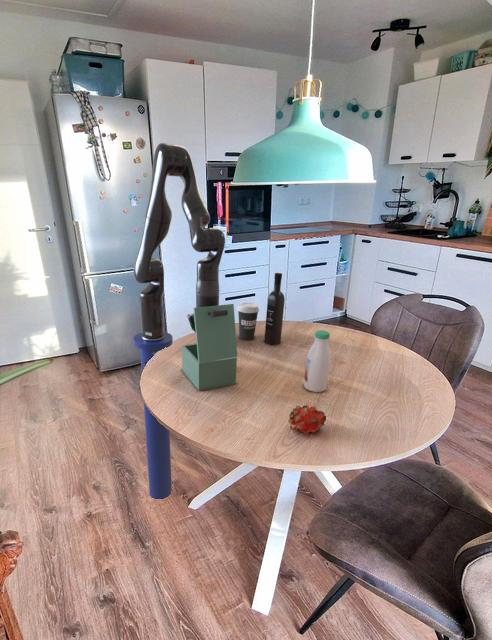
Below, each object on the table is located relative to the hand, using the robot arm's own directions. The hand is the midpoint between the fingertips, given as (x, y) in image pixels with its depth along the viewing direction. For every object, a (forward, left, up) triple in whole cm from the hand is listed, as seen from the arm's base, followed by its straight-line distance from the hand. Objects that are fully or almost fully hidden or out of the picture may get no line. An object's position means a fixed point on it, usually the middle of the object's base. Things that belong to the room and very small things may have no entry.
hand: (207, 341), depth 133 cm
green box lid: (+7, 0, +6) cm, 9 cm away
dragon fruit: (+42, +13, -13) cm, 46 cm away
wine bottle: (-19, +39, -13) cm, 45 cm away
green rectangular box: (+1, 0, -13) cm, 13 cm away
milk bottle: (+22, +31, -13) cm, 40 cm away
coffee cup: (-28, +31, -13) cm, 44 cm away
